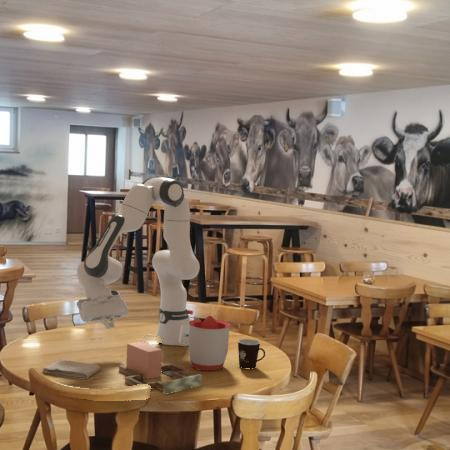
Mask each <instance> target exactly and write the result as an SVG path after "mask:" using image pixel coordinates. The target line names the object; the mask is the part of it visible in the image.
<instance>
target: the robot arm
mask: <svg viewBox="0 0 450 450" xmlns="http://www.w3.org/2000/svg"><path fill="white" fill-rule="evenodd" d="M154 204H157V205H162V207H163V210H164V213H163V234H162V235H163V239H164V241H165V242H166V244H167V246H168V249H163V250H162V249H161V250H158V251H156V252H155V253H154V254H153V256H152V259H151V265H152V267H153V269H154V270H155V272H156V275H157V278H158V282H159V289H160V306H159V310H158V319H159V320H158V321H159V322H158V325H157V326H158V328H157V332H156V336H160V338H161V340H162V344H161V345H165V346H181V347H187V346H189V331H190V324H189V322H190V321H192V320H193V319H191V318H190V317H189V316H190V315H191V316H192V315H193V314H194V312H195V311H194V310H192V309H188V308H187V297H188V295H187V294H188V293H187V289H186V287H184V285H183V281H185V280H186V281H187V280H193V279H195V278H196V277H197V276H198V275H199V272H200V267H201V266H200V265H201V264H200V262H199V260H198V259H197V257H196V256H195V253H194V251H193V248H192V245H191V244H192V243H191V237H190V233H191V232H190V231H191V230H190V229H191V228H190V225H191V214H190V213H191V211H190V210H191V209H190V201H189V198H188V197H187V196H186V195H185V193H184V188H183V185H182V183H181V182H180V181H178V180H177V179H174V178H169V177H164V176H162V177H155V176H154V177H153V176H152V177H148V178H146V179H144V180H143V181H142V182H141V183H136V184H134V185H132V187H131V188H130V189H129V190H128V192H127V193H126V196H125V197H124V200H123V201H122V204H121V206H120V208H119V209H118V211H117V213H116V214H115V216H114V215H113V216H112V217H111V219H110V220H109V221H108V222H107V225H106V226H105V228H104V229H103V231H102V233H101V235H100V236H99V238H98V240H97V242H96V243H95V245H94V247H93V248H92V249H91V250H90V251H89V253H87V255H86V256H85V258H84V261H82V262H81V263H80V264H79V265H78V266H77V269H76V275H77V279H78V282H79V285H80V287H81V289H82V290H83V292H84V296H85V298H83V299H79V300H78V301H76V306H77V309H78V311H79V316H80V319H81V321H82V322H84V323H88V322H95V321H100V322H101V323H102V324H103V325H104V327H105V328H106V329H114V328H115V327H116V325H115V319H121V318H125V317H127V315H128V314H129V307H128V305H127V303H126V301H125V300H124V299H123V298H122V297H121V296H122V294H121V292H120V291H118V290H113V289H110V288H108V287H106V286H109V285H111V284H114V283H115V282H117V281H119V280H120V279H121V277H122V276H123V274H124V273H123V272H124V267H123V264H122V263H121V262H120V261H119V260H117V259H115V257H112V256H110V252H111V250H112V248H113V247H114V245H115V243H116V241H117V240H118V238H119V237H120V236H121V235H122V234H125V233H128V232H129V233H131V232H135V231H138V230H139V229H141V227H142V226H143V225H144V224H145V221H146V219H147V216H148V214H149V211H150V209H151V207H152V206H153V205H154ZM182 280H183V281H182ZM107 320H108V321H107ZM101 323H100V324H101ZM156 336H155V337H156Z"/></svg>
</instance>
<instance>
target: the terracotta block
mask: <svg viewBox="0 0 450 450" xmlns="http://www.w3.org/2000/svg"><path fill="white" fill-rule="evenodd" d="M162 356H163V349H161V348H159V347H156V346H153V345H151V344H148V343H145V342H143V341H135V342H129V343H127V344H126V360H125V361H126V362H125V364H126V365H125V367H127V368H129V369H131V370H133V371H136V372H138V373H140V374H143V377H144V378H143V379H145V378H147V379H146V380H150V379H149V378H152V379H155V378H154V377H156V378H159V376H162V373H161V365H162V361H163V360H162V358H163V357H162Z"/></svg>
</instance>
